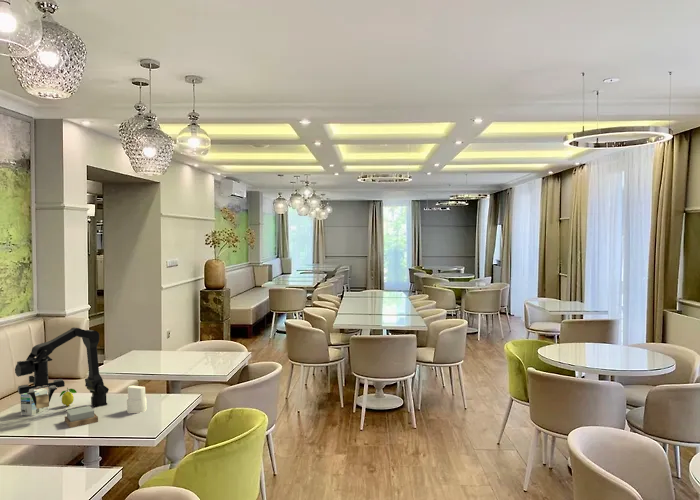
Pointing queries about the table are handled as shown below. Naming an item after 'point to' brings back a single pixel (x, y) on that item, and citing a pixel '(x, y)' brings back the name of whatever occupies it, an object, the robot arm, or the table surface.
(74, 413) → the slate slab
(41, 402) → the oak cube
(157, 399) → the table surface
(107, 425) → the table surface
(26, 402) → the light bulb box
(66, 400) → the lemon
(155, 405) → the table surface
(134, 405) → the cylinder with rectangular tab
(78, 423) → the walnut slab
